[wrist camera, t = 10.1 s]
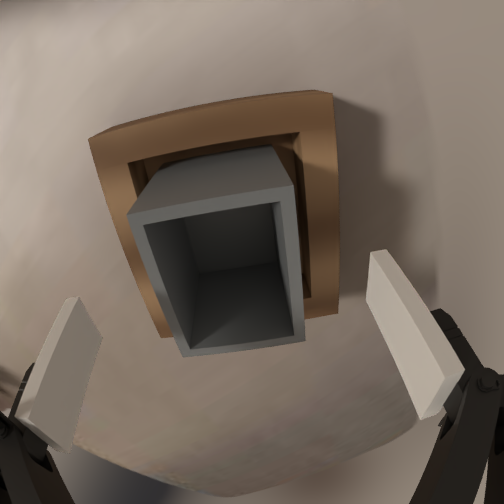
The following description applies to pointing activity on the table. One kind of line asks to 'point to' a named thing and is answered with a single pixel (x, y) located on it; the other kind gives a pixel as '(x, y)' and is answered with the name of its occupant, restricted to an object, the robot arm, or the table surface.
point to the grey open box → (223, 250)
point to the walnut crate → (228, 138)
